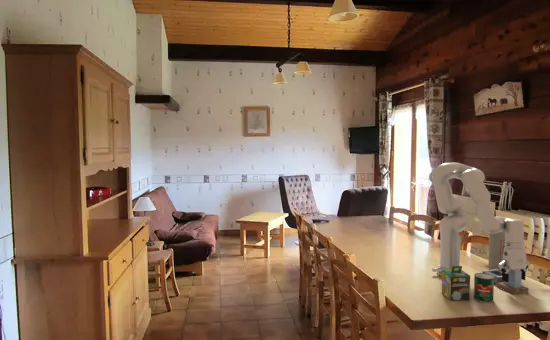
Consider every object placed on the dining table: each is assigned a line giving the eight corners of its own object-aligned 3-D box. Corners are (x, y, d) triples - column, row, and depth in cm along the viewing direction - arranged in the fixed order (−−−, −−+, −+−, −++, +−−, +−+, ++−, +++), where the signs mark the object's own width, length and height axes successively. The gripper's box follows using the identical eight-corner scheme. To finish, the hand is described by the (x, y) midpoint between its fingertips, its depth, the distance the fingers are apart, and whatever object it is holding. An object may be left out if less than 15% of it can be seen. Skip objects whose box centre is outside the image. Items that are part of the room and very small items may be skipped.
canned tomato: (487, 295, 182) (487, 272, 181) (497, 302, 174) (498, 278, 174) (470, 296, 182) (470, 272, 181) (479, 303, 174) (480, 278, 173)
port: (497, 285, 196) (497, 276, 195) (482, 278, 205) (482, 270, 205) (514, 283, 198) (514, 275, 198) (498, 277, 208) (498, 269, 207)
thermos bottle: (508, 271, 217) (509, 221, 215) (496, 272, 214) (498, 221, 213) (496, 267, 224) (498, 218, 222) (484, 268, 222) (486, 219, 220)
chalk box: (460, 292, 186) (460, 262, 185) (470, 300, 177) (471, 268, 176) (440, 293, 186) (441, 262, 185) (450, 300, 177) (450, 268, 176)
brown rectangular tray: (514, 294, 183) (514, 290, 183) (497, 287, 193) (497, 282, 193) (528, 292, 185) (528, 288, 185) (510, 285, 195) (510, 281, 195)
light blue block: (514, 292, 186) (515, 270, 185) (504, 288, 192) (505, 267, 191) (520, 291, 187) (521, 270, 186) (510, 287, 193) (511, 266, 192)
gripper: (505, 248, 182) (505, 284, 183) (535, 245, 186) (535, 281, 187) (493, 244, 189) (492, 279, 190) (522, 241, 193) (521, 276, 194)
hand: (513, 280), depth 189 cm, fingers open, 9 cm apart
